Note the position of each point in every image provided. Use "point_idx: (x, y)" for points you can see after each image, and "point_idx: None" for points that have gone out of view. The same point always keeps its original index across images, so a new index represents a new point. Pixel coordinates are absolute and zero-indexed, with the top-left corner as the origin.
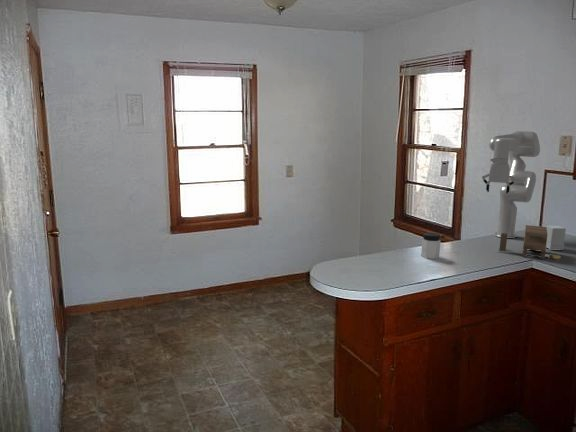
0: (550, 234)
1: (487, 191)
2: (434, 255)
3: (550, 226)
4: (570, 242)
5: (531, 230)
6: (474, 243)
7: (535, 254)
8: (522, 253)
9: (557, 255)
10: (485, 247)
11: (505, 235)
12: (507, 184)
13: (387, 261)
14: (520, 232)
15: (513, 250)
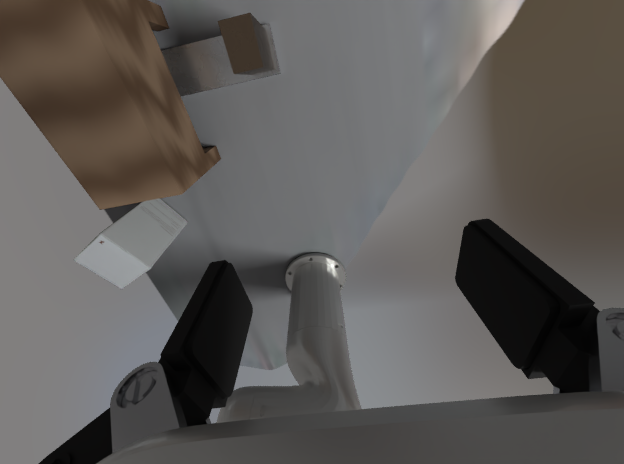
0: (129, 225)
1: (486, 221)
2: None
3: (128, 260)
4: (170, 307)
5: (70, 46)
6: (384, 119)
7: None
8: (176, 47)
9: None
10: (334, 77)
11: (227, 19)
12: (162, 402)
13: None
14: None
15: (223, 79)
